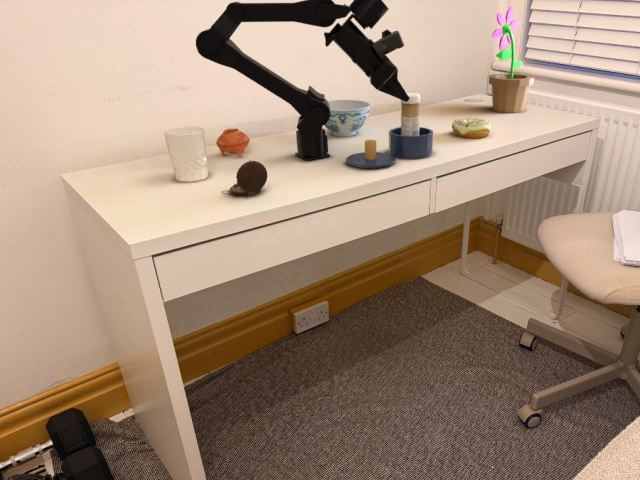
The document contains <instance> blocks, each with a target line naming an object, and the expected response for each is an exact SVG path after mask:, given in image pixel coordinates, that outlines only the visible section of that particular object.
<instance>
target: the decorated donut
mask: <svg viewBox="0 0 640 480" xmlns="http://www.w3.org/2000/svg"><path fill="white" fill-rule="evenodd" d="M451 129H452V132H453V133H454V134H455V135H456V136H458V137H462V138H466V139H470V138H471V139H476V138H480V139H481V138H484V137H487V136H489V134H490V131H491V129H492V124H491V123H490V122H489V121H487V120H485V119H482V118H478V117H477V118H476V117H465V118H457V119H455V120H453V121H452V123H451Z"/></svg>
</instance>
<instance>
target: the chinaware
mask: <svg viewBox="0 0 640 480" xmlns="http://www.w3.org/2000/svg"><path fill="white" fill-rule="evenodd" d="M327 101H328V102H329V105H330V119H329V121H328V122H327V123H326V124H325V125H323V126H324V127H325V128H326V129H328V130H329V131H331V135H332V136H335V137H352V136H355V135H357V131H358V130H359V129H360V128H361V127H363V126H364V124H365V123H366V122H367V120H368V117H369V114H370V111H371V103H370V102H368V101H364V100H358V99H357V100H355V99H336V100H335V99H334V100H327Z"/></svg>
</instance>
